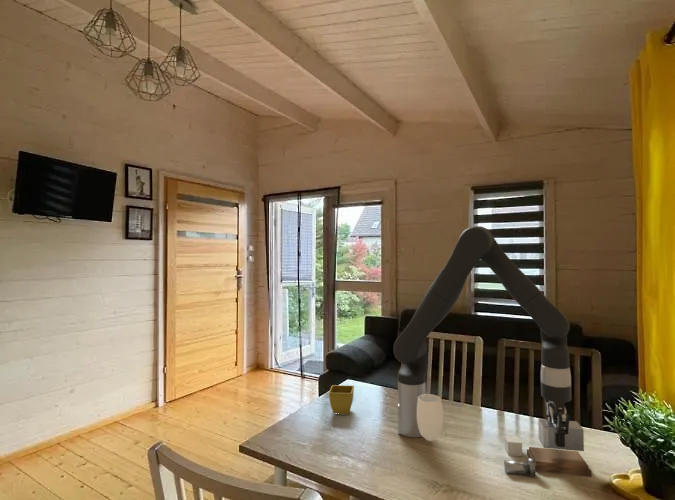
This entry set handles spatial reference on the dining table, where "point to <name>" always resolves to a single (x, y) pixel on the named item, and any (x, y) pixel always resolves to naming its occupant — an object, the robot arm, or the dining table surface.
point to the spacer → (513, 445)
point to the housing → (571, 440)
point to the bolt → (520, 467)
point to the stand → (559, 461)
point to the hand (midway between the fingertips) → (557, 441)
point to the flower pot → (341, 398)
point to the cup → (430, 416)
